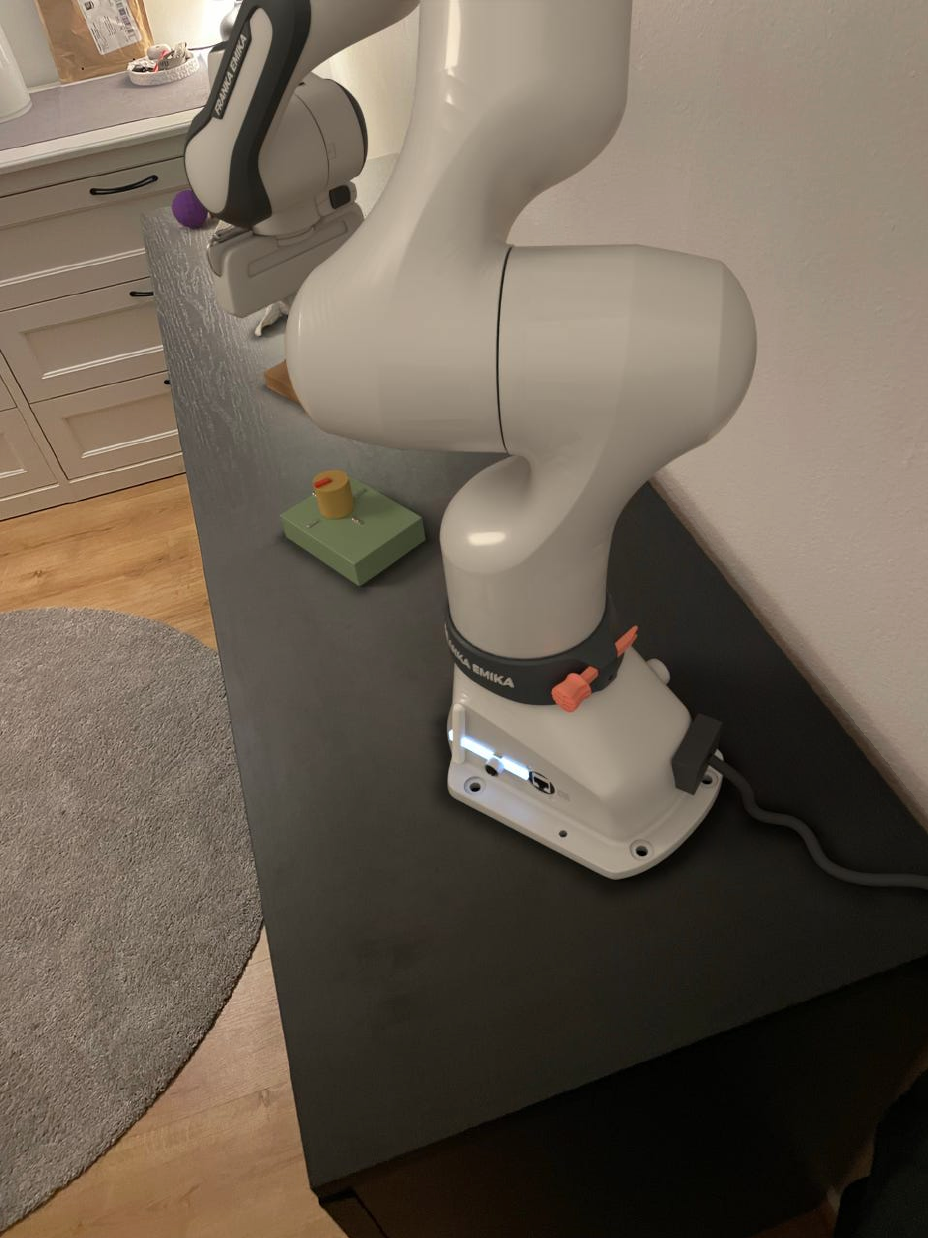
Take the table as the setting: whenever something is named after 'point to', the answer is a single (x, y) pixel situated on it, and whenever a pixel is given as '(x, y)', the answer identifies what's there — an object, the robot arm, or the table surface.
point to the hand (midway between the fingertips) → (307, 320)
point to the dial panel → (356, 533)
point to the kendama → (189, 210)
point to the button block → (280, 381)
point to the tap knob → (333, 494)
